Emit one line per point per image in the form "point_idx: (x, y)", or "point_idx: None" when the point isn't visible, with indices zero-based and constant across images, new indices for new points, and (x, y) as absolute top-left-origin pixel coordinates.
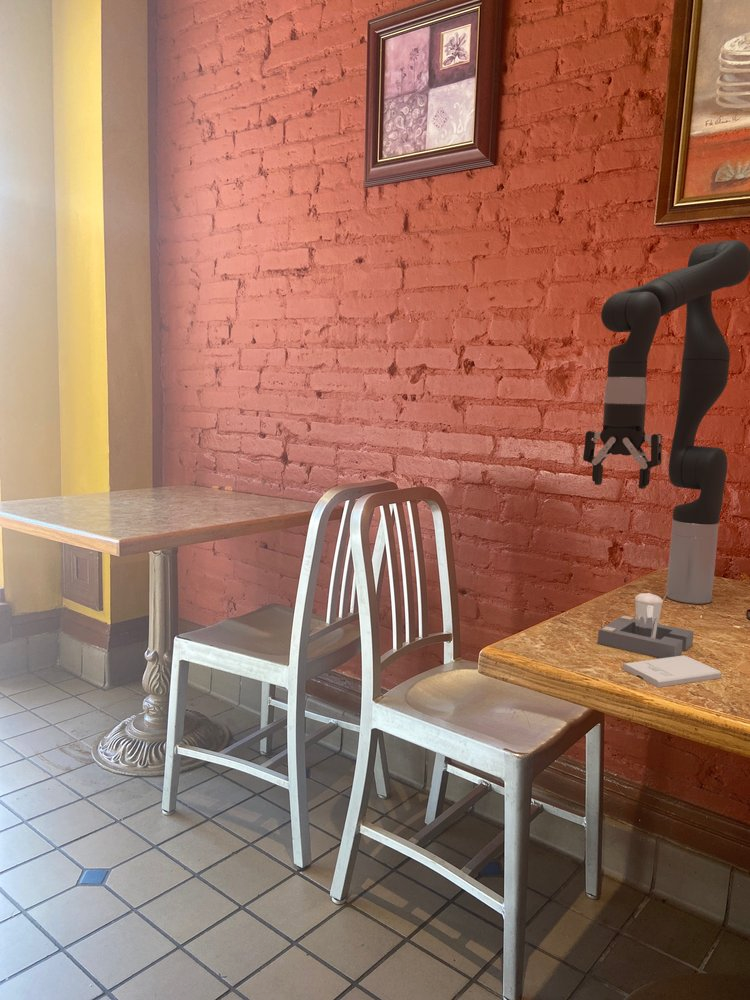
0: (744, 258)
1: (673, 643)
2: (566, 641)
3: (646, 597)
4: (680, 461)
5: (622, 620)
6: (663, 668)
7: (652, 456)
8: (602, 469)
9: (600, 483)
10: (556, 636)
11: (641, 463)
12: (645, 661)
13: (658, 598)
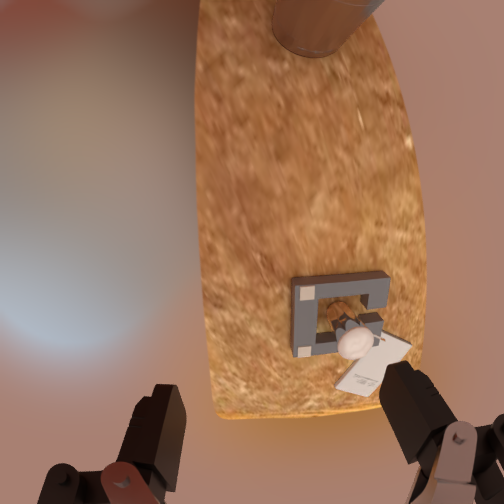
0: None
1: (376, 338)
2: (259, 362)
3: (356, 358)
4: None
5: (304, 303)
6: (369, 375)
7: (478, 492)
8: (160, 445)
9: (178, 397)
10: (241, 356)
11: (423, 486)
12: (353, 373)
13: (370, 347)
